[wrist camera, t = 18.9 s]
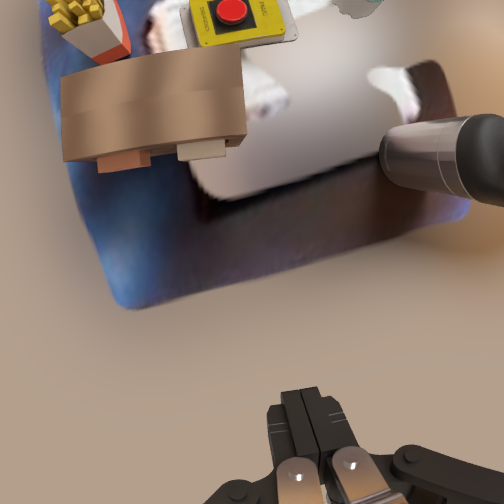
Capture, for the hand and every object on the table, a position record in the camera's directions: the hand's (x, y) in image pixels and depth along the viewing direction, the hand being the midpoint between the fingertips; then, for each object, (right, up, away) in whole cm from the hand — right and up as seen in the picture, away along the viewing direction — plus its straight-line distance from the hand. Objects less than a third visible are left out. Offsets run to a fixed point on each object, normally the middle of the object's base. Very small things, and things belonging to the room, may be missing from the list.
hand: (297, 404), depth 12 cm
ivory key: (-7, +18, +20) cm, 28 cm away
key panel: (-12, +23, +26) cm, 37 cm away
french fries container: (-21, +37, +22) cm, 47 cm away
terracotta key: (-15, +17, +19) cm, 30 cm away
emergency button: (-4, +38, +24) cm, 45 cm away
